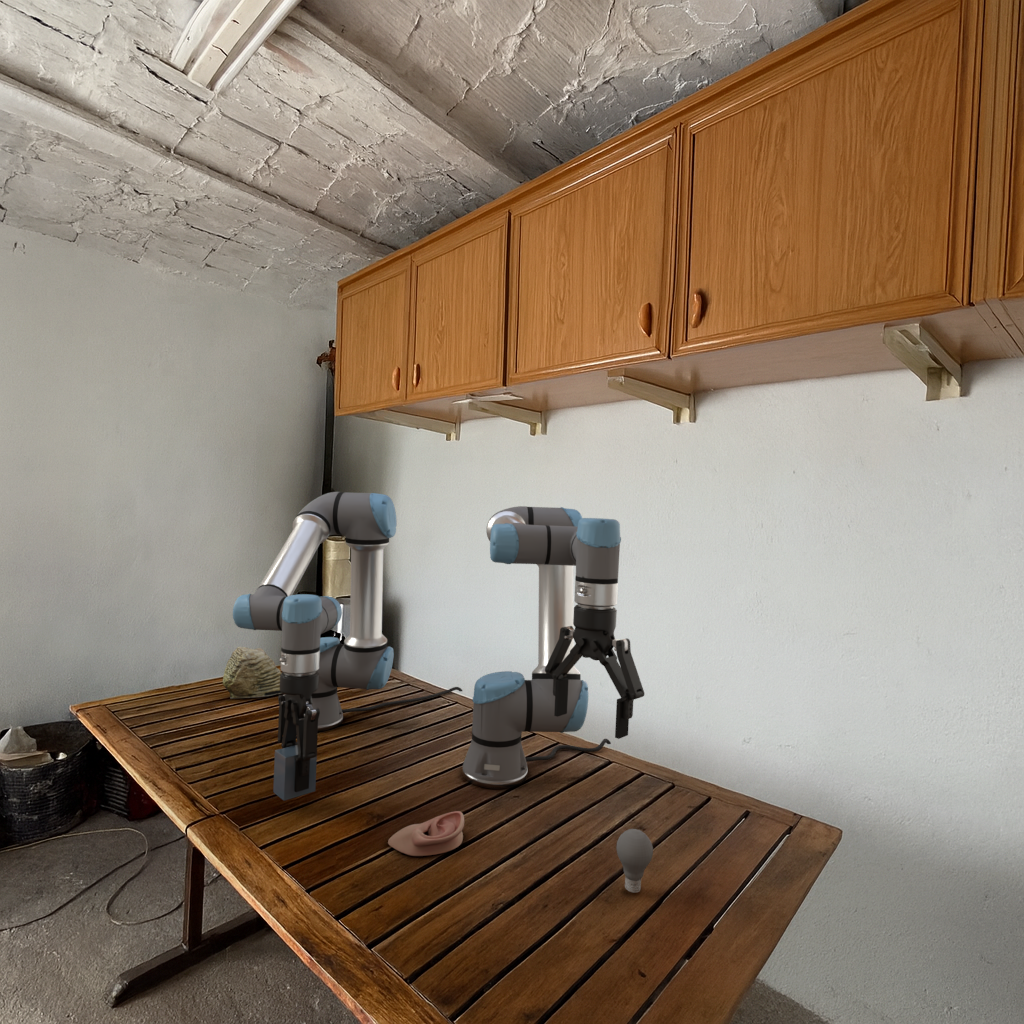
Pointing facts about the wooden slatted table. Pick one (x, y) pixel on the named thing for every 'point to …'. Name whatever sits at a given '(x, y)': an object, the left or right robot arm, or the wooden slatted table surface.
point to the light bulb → (634, 857)
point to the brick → (290, 773)
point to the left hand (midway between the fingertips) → (295, 784)
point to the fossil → (251, 674)
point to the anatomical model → (430, 835)
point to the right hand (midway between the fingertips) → (589, 725)
